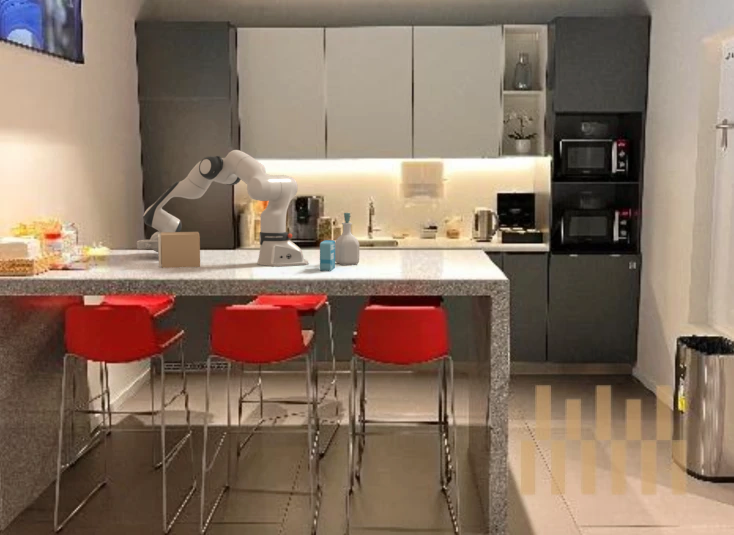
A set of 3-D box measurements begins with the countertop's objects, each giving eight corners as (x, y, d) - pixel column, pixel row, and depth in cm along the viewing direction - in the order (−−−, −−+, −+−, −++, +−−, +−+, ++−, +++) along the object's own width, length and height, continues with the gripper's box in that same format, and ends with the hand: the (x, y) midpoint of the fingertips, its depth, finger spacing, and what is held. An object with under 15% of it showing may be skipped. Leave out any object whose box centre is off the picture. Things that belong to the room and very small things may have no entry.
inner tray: (195, 260, 365) (194, 232, 363) (197, 265, 348) (196, 235, 347) (158, 261, 361) (157, 232, 360) (158, 266, 345) (157, 236, 343)
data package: (330, 271, 338) (330, 243, 337) (319, 271, 339) (319, 242, 337) (335, 267, 350) (335, 240, 348) (324, 267, 351) (324, 239, 349)
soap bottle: (340, 265, 357) (340, 213, 353) (333, 263, 365) (333, 212, 362) (360, 264, 360) (361, 213, 357) (353, 262, 369) (353, 211, 366)
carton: (199, 263, 361) (198, 231, 359) (200, 266, 349) (199, 234, 347) (161, 264, 357) (160, 232, 355) (161, 267, 345) (160, 235, 343)
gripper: (136, 236, 378) (135, 239, 364) (181, 235, 383) (182, 238, 369) (137, 250, 378) (136, 253, 365) (182, 248, 383) (182, 252, 370)
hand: (159, 245), depth 367 cm, fingers open, 8 cm apart
